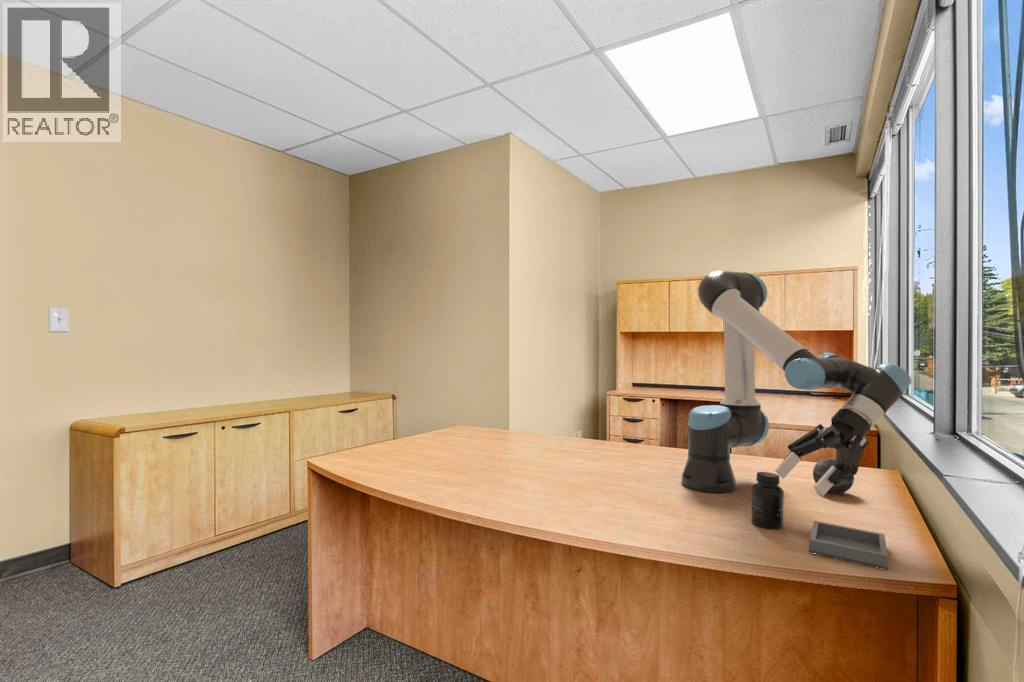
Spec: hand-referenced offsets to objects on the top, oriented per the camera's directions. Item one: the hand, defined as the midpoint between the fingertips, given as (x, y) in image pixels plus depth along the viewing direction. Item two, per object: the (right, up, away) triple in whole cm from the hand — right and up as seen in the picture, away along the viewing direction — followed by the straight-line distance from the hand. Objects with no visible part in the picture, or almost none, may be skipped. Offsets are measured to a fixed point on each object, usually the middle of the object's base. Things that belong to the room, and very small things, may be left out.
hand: (797, 482), depth 119 cm
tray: (+3, -11, -13) cm, 17 cm away
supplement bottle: (-7, -10, +1) cm, 12 cm away
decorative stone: (+25, -10, +26) cm, 37 cm away
